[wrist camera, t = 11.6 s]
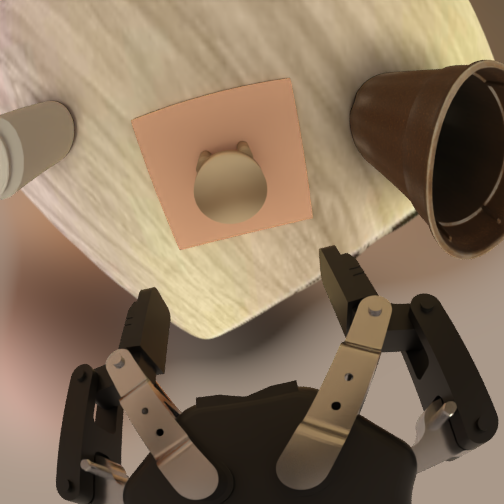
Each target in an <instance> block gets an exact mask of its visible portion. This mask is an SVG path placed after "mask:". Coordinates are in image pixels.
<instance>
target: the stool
mask: <svg viewBox="0 0 504 504" xmlns="http://www.w3.org/2000/svg"><path fill="white" fill-rule="evenodd" d="M236 147H237V151H235V150H226V151H221V152H218V153H215V154H213V155H212V156H211V153H210V152H209V151H202V152H201V153H200V156H199V159H198V163H197V166H196V172H197V175H196V179H195V183H194V198H195V201H196V204H197V206H198V208H199V209H200V210H201V212H202V213H203V214H204V215H205V216H207V217H208V218H210V219H212V220H214V221H216V222H219V223H224V224H236V223H240V222H244V221H246V220H248V219H250V218H251V217H253V216H254V215H255V214H256V213H258V212H259V210H260V209H261V208H262V206H263V204H264V202H265V200H266V197H267V182H266V179H265V176H264V174H263V172H262V170H261V168H260V166H259V164H258V163H257V162H256V161H255V160H254V159H253V155H252V152H251V150H250V148H249V145H248V143H247V142H245V141H240V142H239V143H238V144H237V146H236Z"/></svg>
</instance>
